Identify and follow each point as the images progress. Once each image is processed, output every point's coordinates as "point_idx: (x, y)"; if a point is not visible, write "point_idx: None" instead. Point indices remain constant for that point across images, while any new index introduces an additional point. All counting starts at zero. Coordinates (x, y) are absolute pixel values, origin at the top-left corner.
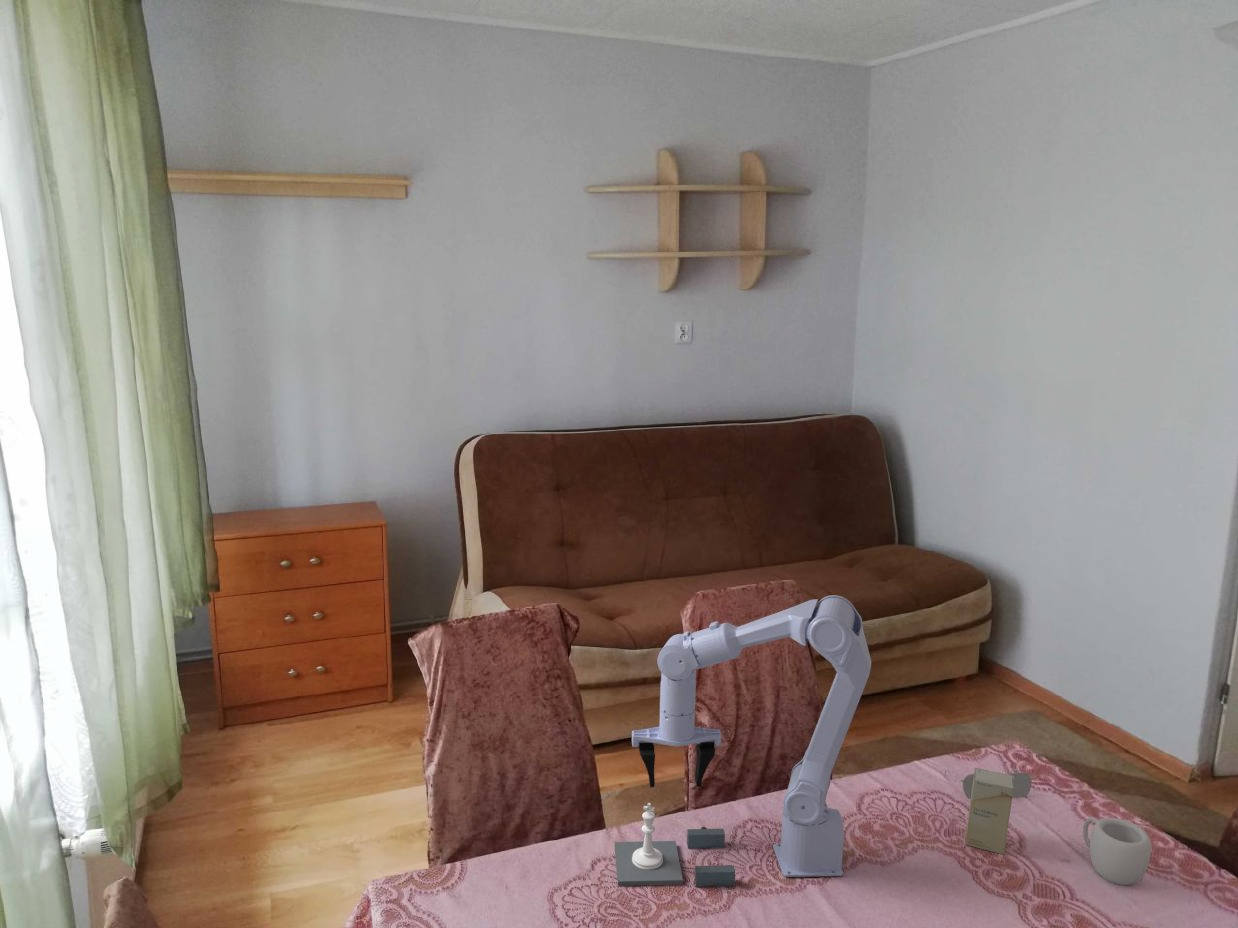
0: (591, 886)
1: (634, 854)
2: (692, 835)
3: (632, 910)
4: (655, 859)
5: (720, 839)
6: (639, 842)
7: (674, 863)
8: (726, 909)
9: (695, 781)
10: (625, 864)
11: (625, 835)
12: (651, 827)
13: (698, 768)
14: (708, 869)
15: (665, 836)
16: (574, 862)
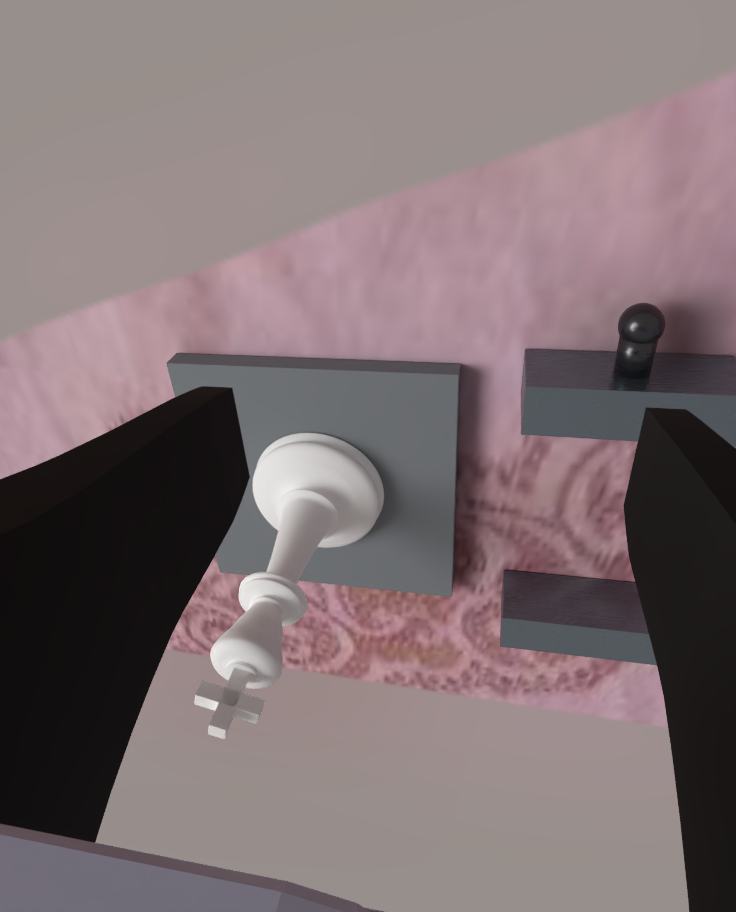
0: None
1: (258, 491)
2: (543, 433)
3: (283, 645)
4: (345, 535)
5: None
6: (280, 376)
7: (432, 515)
8: (580, 687)
9: (640, 433)
10: None
11: (213, 272)
12: (285, 609)
13: (671, 652)
14: (554, 639)
15: (418, 290)
16: (50, 436)
